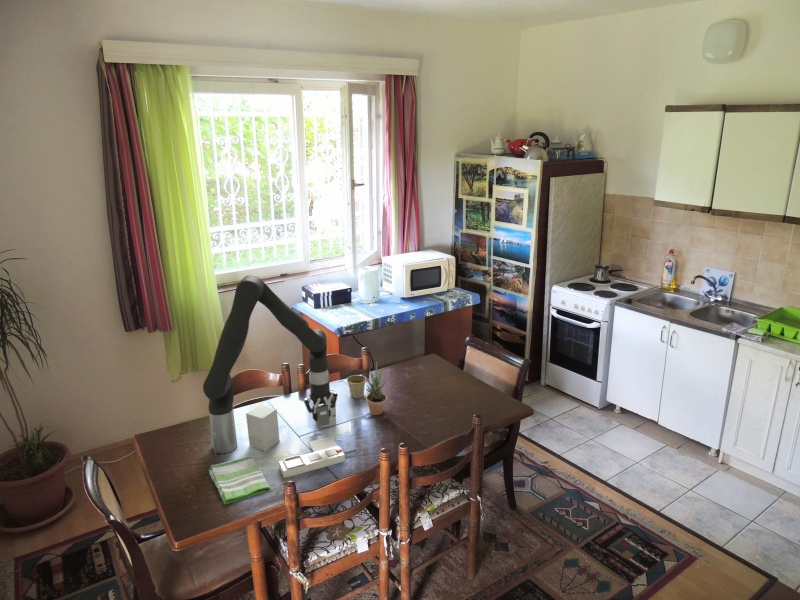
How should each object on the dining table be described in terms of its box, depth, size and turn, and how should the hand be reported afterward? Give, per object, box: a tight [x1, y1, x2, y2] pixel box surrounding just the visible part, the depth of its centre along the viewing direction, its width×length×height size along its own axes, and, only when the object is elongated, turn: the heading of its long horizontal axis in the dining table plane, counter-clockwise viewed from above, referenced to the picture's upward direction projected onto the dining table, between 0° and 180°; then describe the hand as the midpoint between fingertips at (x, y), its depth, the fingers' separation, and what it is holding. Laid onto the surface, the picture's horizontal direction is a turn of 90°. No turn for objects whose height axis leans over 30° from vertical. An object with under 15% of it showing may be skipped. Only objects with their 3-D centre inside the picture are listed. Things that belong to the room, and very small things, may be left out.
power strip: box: [278, 445, 357, 479], centre depth 218 cm, size 30×7×4 cm, turn 116°
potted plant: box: [364, 361, 388, 416], centre depth 253 cm, size 10×10×25 cm
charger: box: [314, 404, 329, 428], centre depth 225 cm, size 4×5×8 cm
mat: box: [307, 436, 339, 453], centre depth 229 cm, size 10×10×1 cm
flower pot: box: [346, 374, 367, 399], centre depth 271 cm, size 9×9×9 cm
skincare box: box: [316, 389, 337, 429], centre depth 245 cm, size 8×6×15 cm
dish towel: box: [207, 455, 271, 505], centre depth 208 cm, size 17×23×4 cm
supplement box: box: [245, 404, 281, 452], centre depth 230 cm, size 9×9×15 cm
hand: (322, 418), depth 226 cm, fingers closed on charger, 4 cm apart
